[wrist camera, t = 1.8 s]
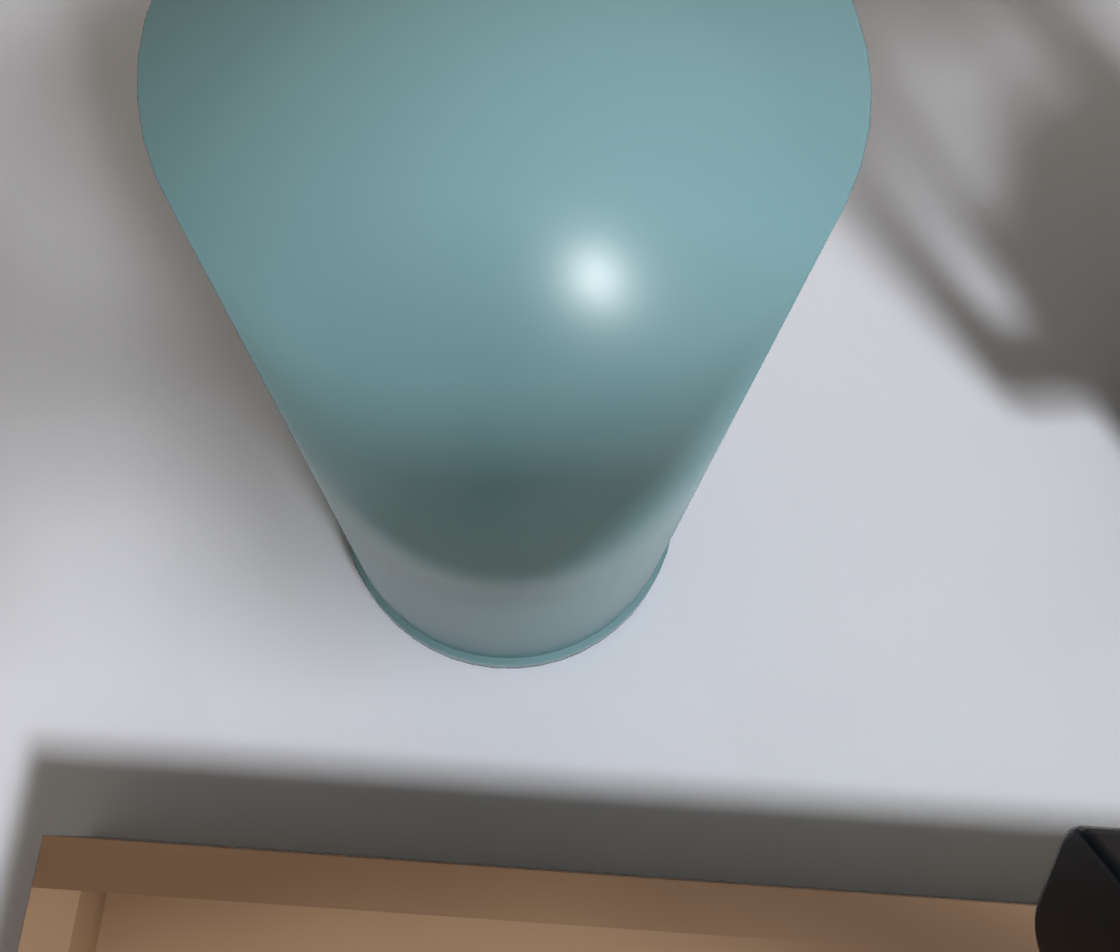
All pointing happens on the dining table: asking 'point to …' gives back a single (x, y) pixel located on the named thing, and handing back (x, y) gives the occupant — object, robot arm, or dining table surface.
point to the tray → (461, 907)
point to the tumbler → (506, 267)
